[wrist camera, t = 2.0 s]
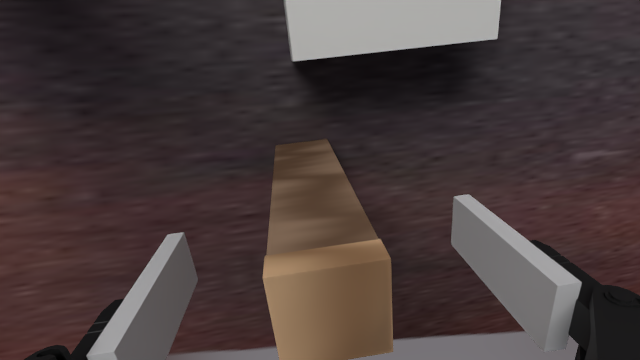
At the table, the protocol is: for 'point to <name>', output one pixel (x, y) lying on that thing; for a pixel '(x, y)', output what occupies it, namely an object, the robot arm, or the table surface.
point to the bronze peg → (324, 262)
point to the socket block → (385, 25)
